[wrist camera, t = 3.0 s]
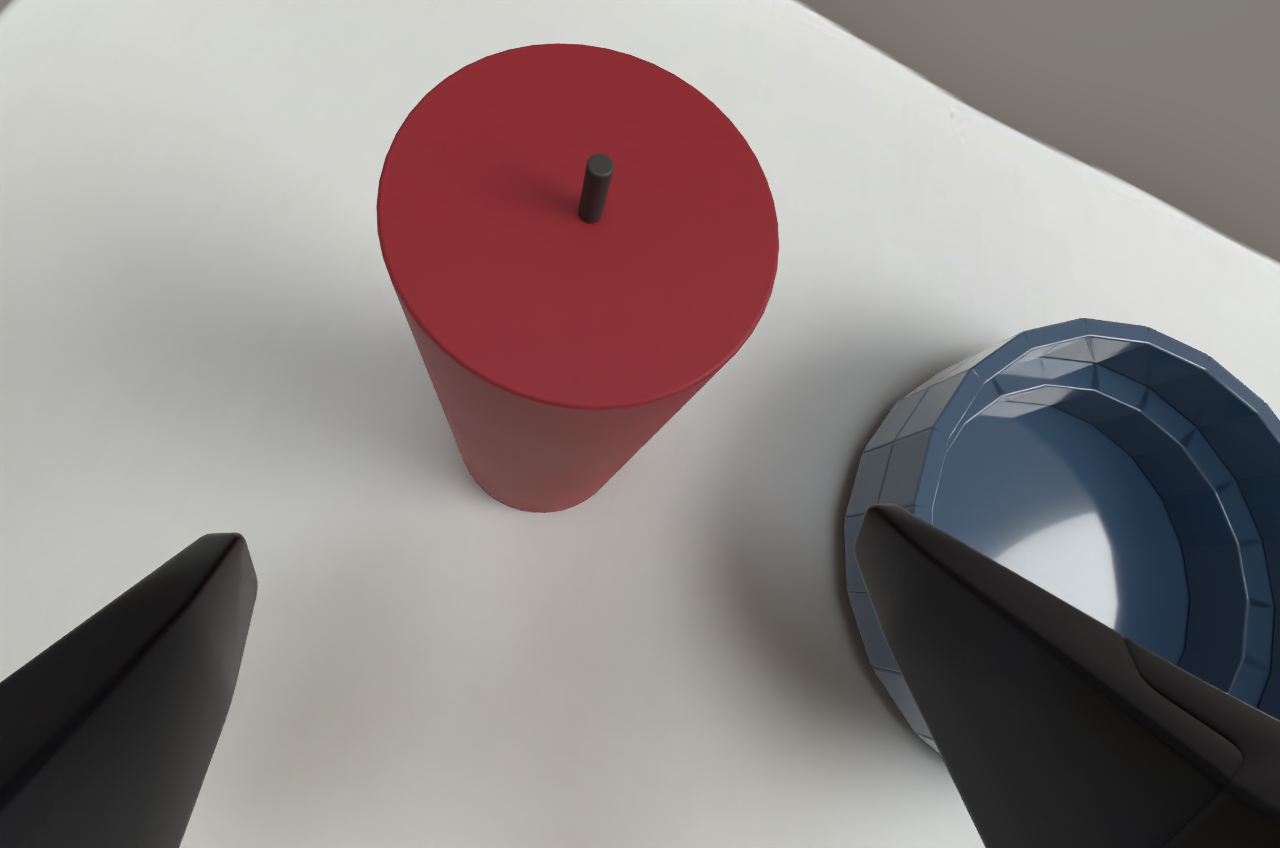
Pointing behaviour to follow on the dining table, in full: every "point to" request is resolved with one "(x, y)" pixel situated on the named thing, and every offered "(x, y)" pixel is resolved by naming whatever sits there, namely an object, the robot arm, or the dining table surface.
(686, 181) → the candle
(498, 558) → the dining table surface
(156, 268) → the dining table surface
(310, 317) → the dining table surface
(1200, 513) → the bowl
